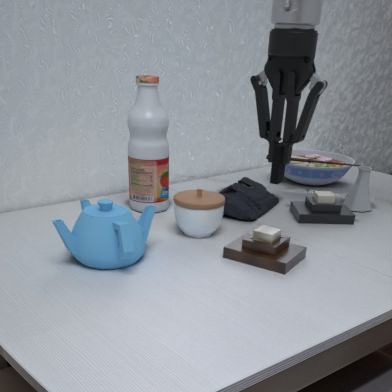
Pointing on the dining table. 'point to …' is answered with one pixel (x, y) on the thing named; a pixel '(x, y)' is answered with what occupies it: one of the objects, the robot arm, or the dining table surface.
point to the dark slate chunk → (247, 200)
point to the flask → (360, 192)
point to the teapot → (106, 234)
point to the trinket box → (198, 211)
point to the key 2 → (324, 197)
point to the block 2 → (321, 212)
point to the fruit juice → (148, 148)
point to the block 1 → (265, 253)
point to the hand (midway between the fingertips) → (276, 182)
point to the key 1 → (267, 234)
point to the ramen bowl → (317, 166)
